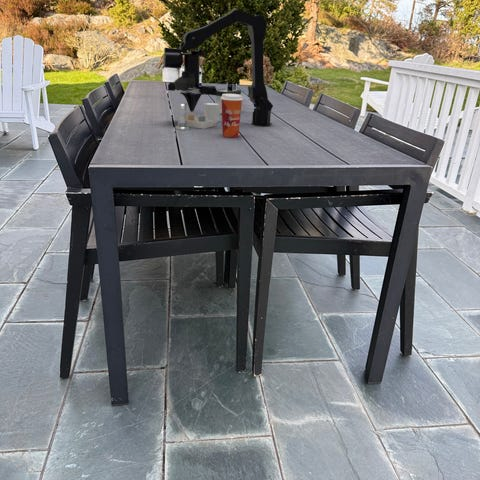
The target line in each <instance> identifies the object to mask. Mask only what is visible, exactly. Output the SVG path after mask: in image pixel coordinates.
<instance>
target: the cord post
mask: <svg viewBox="0 0 480 480" xmlns="http://www.w3.org/2000/svg"><path fill="white" fill-rule="evenodd" d="M177 109H178V110H177V113H178V114H177V115H178V118H177V125H176V126H175V129H176V130H179V131H188V130H190V127H189V126H187V117H188V115H187V114H188V113H187V103H183V102H182V103H178V105H177Z"/></svg>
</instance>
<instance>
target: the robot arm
mask: <svg viewBox="0 0 480 480" xmlns="http://www.w3.org/2000/svg"><path fill="white" fill-rule="evenodd" d="M235 23H238V24H240V25H242V26H244V27H247V31H248V35H249V38H250V42H251V64H252V66H251V68H252V69H251V70H252V71H251V72H252V73H251V74H252V75H251V76H252V82H251V85H250V86H249V85H248V86H247V91H248V94H247V97H248V98H249V101H250V102H251V103H252V105H253V107H254V108H253V111H252V118H251V120H252V121H251V125H254V126H262V127H267V126H271V125H272V122H271V115H272V114H271V113H272V110H273V107H274V105H273V103H271V101H270V99H269V96H268V91H267V88H266V84H265V79H264V77H265V75H264V73H265V71H264V67H265V66H264V40H265V36H266V34H267V27H268V22H267V19H266V18H265V16H263V15H261V14H256V15H254V14H251V13H248V12H246V11H243V10H240V9H238V8H235V9H232V10H230V11H229V12H228V13H226V14H225V15H223V16H221V17H219V18H218V19H216V20H214V21H212V22H210V23H208V24H206V25H205V26H202V27H200V28H199V27H198V28H196V29H192V30H189V31H186V33H184V35H183V38H182V42H181V43H180V44H179V47H177V48H170V47H164V49H163V51H164V52H163V57H162V58H163V67H164V68H165V69H180V68H181V66H183V70H182V71H181V76H180V77H178V78H177V79H175V80H174V81H172V82H168V85H167V90H168V91H173V92H174V91H175V92H176V91H180V93H179V94H180V95H182V96H183V97H184V98H185V100H186V104H187V106H188V109H189V112H192V113H193V112H194V111H195V108H196V106H197V105H198V102H199V100H200V98H201V97H202V96H203V95H207V96H212V95H211V94H216V90H217V88H216V86H215V85H210V84H209V85H208V84H205V85H202V82H200V75H202V71H200V63H201V62H200V58H201V57H205V56H206V54H205V53H204V51H202V50H203V49H202V48H199V47H201V45H203V43H205V42H206V41H207V40H208V39H209V38H211V37H212V36H214V35H215V34H217V33H219V32H220V31H222V30H224V29H226V28H227V27H230V26H232V25H233V24H235ZM196 49H198V50H196ZM188 51H189V52H188ZM184 52H185V53H184ZM186 52H188V53H186Z"/></svg>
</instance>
